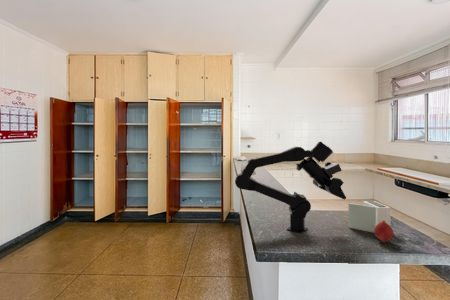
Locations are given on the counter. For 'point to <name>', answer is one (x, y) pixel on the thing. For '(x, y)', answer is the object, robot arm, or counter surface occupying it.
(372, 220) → the door
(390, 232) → the onion
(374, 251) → the counter surface
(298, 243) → the counter surface
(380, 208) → the box
